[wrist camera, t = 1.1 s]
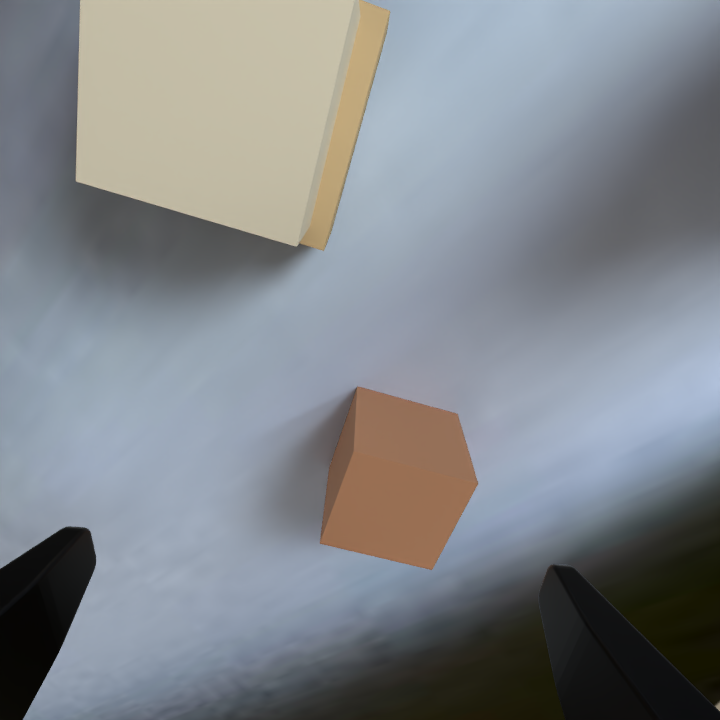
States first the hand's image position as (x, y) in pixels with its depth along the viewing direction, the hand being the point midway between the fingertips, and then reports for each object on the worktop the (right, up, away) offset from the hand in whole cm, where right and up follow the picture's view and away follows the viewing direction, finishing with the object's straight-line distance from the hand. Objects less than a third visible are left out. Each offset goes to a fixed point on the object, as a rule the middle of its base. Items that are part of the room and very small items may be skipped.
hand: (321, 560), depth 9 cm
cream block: (-3, +12, +5) cm, 13 cm away
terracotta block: (+2, 0, +14) cm, 14 cm away
